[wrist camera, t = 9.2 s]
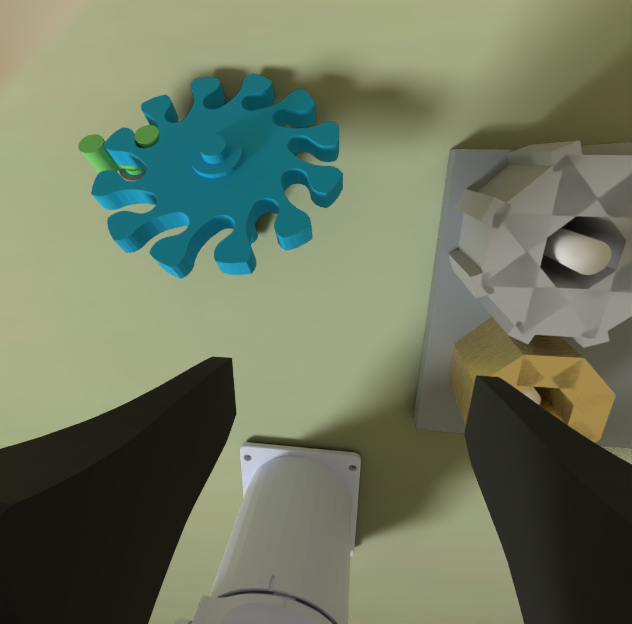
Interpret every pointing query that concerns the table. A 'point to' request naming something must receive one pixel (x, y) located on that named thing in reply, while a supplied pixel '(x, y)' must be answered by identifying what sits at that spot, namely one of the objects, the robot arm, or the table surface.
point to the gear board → (472, 314)
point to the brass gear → (533, 375)
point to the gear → (215, 173)
